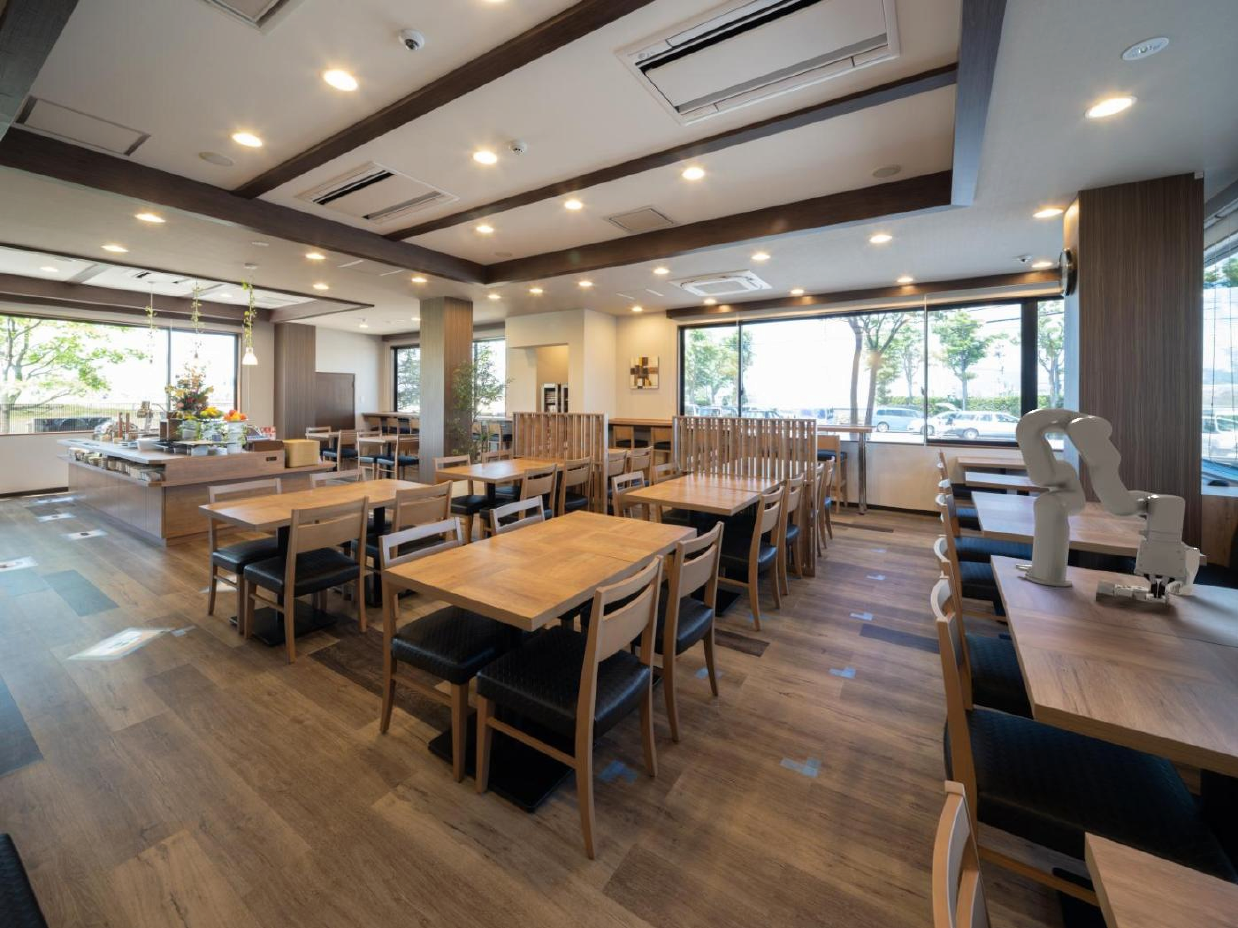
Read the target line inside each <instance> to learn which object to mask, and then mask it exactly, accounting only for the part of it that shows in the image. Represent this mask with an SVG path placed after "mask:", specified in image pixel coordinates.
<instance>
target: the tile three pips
mask: <svg viewBox="0 0 1238 928" xmlns="http://www.w3.org/2000/svg"><path fill="white" fill-rule="evenodd" d="M1114 584H1115V590H1114V594H1117V595H1123V596H1128V597H1132V594H1133V587H1129V585H1124V586H1123V584H1118V585H1117V583H1114Z"/></svg>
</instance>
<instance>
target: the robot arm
mask: <svg viewBox="0 0 1238 928" xmlns="http://www.w3.org/2000/svg"><path fill="white" fill-rule="evenodd" d="M1055 433H1056V434H1060V435H1064V436H1067V438H1068V440H1069V441H1070V443H1071V444H1072V445H1073V446H1074V447H1073V448H1075V450H1076V452H1077V453H1078V454H1079V456H1080V458H1081V459H1082V460H1083V462H1084V464H1085V465H1086V466H1087V469H1088V473H1089V474H1088V475H1089V479H1090V484H1091V487H1092V490H1093V491H1094V493H1095V495H1096V496H1097V498H1098V499H1099V501H1100V503H1101V504H1102V505H1103V507H1104V508H1105V510H1106V511H1108V512H1109V513H1110V514H1111V515H1113V516H1116V517H1118V518H1119V517H1120V518H1129V517H1135V516H1143V515H1144V516H1146V523H1145V529H1141V530H1140V529H1139V530H1138V535H1140V536H1142V537H1143V538H1141V540H1140V542H1139V545H1138V549H1137V552H1136V553H1137V554H1136V560H1135V561H1136V562H1135V568H1134V571H1133V574H1135V575H1138V576H1141V577H1144V578H1145V579H1146V580H1147V581H1148V582H1149V583H1150V589H1149V590H1150V593H1152V594H1153V597H1155V598H1156V597H1157V596H1158V598H1160V599H1161V595H1163V596H1165V593H1166V588H1167V586H1168V584H1170V583H1172V582H1174V581H1185V580H1186V579H1185V570H1186V548H1185V546H1186V545H1185V543H1184V542H1182V541H1183V540H1182V538H1183V528H1184V518H1185V509H1186V500H1185V498H1184V497H1182V496H1178V495H1172V494H1158V493H1152V492H1148V491H1143V490H1128V488H1127V487H1126V486H1125V484H1124V483H1123V481H1122V480H1121V477H1120V474H1119V466H1120V465H1121V460H1122V456H1121V454H1120V452H1119V451H1118V450H1117V448H1116V447H1115V446H1114V444H1113V443H1112V441H1111V440H1110V437H1111V435H1112V434H1113V427H1112V424H1111V423H1110V422H1109V420H1107V419H1105V418H1102V417H1101V416H1096V415H1090V414H1086V413H1083V412H1080V411H1079V412H1078V411H1074V410H1070V409H1065V408H1039V409H1035V410H1032V411H1028V412H1027V413H1025V414H1024V415H1023V416H1022V417H1021V418H1020V419H1019V420H1018V422H1017V423H1016V426H1015V438H1016V442H1017V444H1018V446H1019V449H1020V453H1021V455H1022V459H1023V463H1024V466H1025V469H1026V472H1027V475H1028V477H1029V481H1030V482H1031V484H1032V485H1033V486H1035V487H1037V488H1041V489H1042V488H1048V491H1045V492H1042V493H1041V494H1039V495H1038V496H1037V497H1036V498H1035V499H1034V502H1033V506H1032V509H1033V517H1034V518H1033V520H1034V526H1033V527H1034V529H1033V544H1032V545H1033V546H1032V556H1031V564H1027V565H1024V564H1020V563H1016V564H1015V570H1018V571H1019V572H1026V573H1025V574H1024V578H1025V579H1027V580H1028V581H1031V582H1033V583H1036V584H1040V585H1045V586H1052V587H1064V588H1065V587H1070V586H1072V584H1073V583H1072V579H1070V578H1068V577H1067V573H1068V572H1067V571H1068V570H1067V569H1068V559H1069V549H1070V535H1071V528H1070V523H1069V518H1070V517H1075V516H1078V515H1080V514H1081V513H1083V512H1084V511H1085V509H1086V507H1087V501H1086V500H1087V499H1086V494H1085V492H1084V489H1083V487H1082V484H1081V481H1080V478H1079V475H1078V471H1077V470H1076V468H1075V467H1074V465H1072V464H1071V463H1070V462H1068V461H1067V460H1063V459H1060V458H1059V459H1056V457H1055V454H1054V452H1053V447H1052V445H1051V444H1050V443H1051V442H1049V441H1048V439H1047V438H1046V434H1055ZM1156 576H1159V577H1161V580H1160V581H1159V583H1158V581H1157V579H1156ZM1157 591H1158V594H1157Z"/></svg>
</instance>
